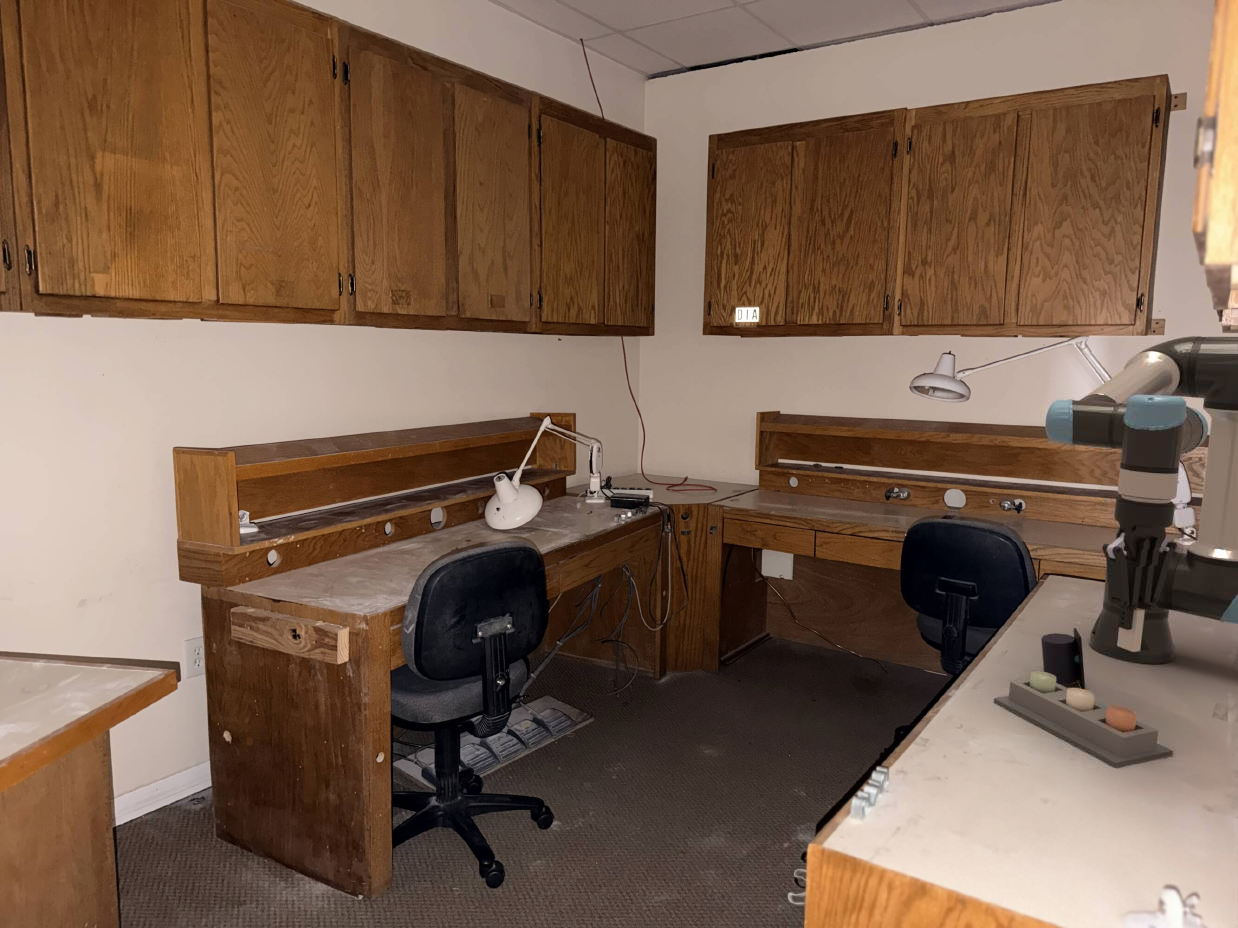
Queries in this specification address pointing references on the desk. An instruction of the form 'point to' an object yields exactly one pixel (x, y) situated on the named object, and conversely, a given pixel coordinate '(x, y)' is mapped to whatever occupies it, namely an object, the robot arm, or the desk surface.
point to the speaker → (1064, 658)
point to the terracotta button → (1121, 719)
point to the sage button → (1043, 681)
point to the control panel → (1083, 726)
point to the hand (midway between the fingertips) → (1128, 648)
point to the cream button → (1080, 699)
